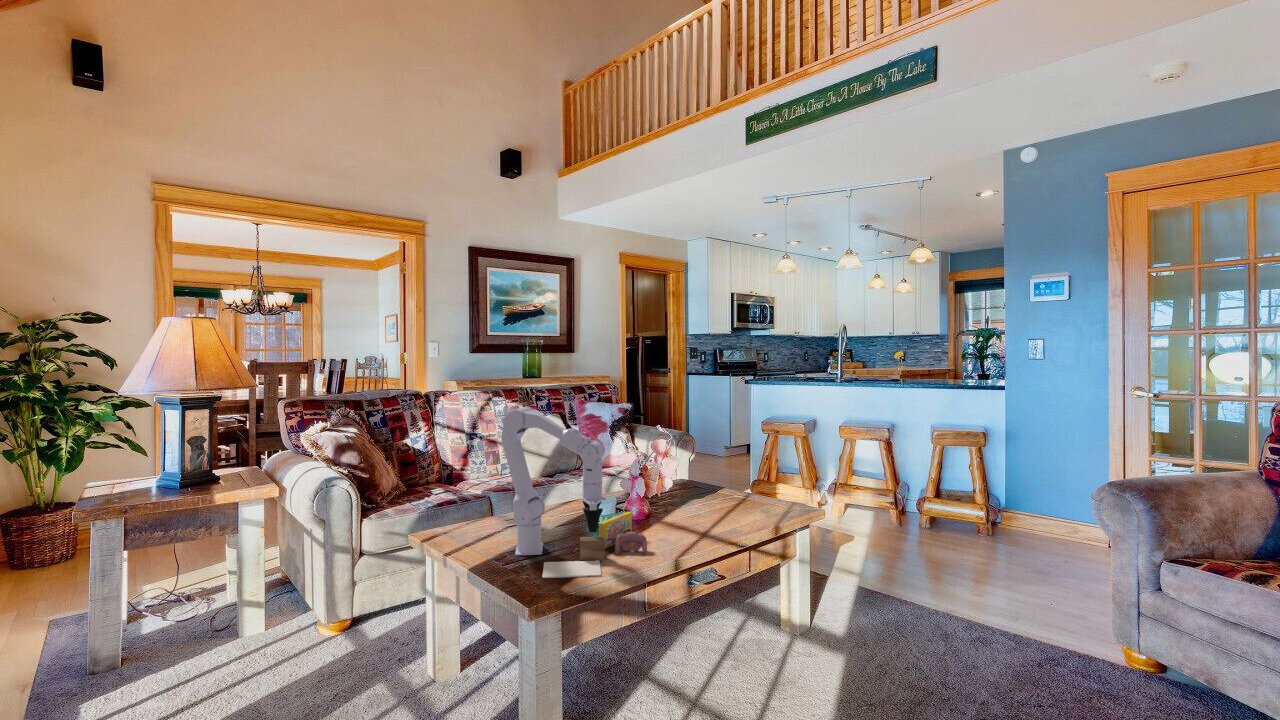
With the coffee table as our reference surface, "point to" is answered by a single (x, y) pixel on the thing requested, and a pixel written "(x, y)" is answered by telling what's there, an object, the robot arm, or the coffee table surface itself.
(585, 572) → the mat
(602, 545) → the brown block
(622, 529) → the candy box
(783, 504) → the coffee table surface
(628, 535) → the video game controller
